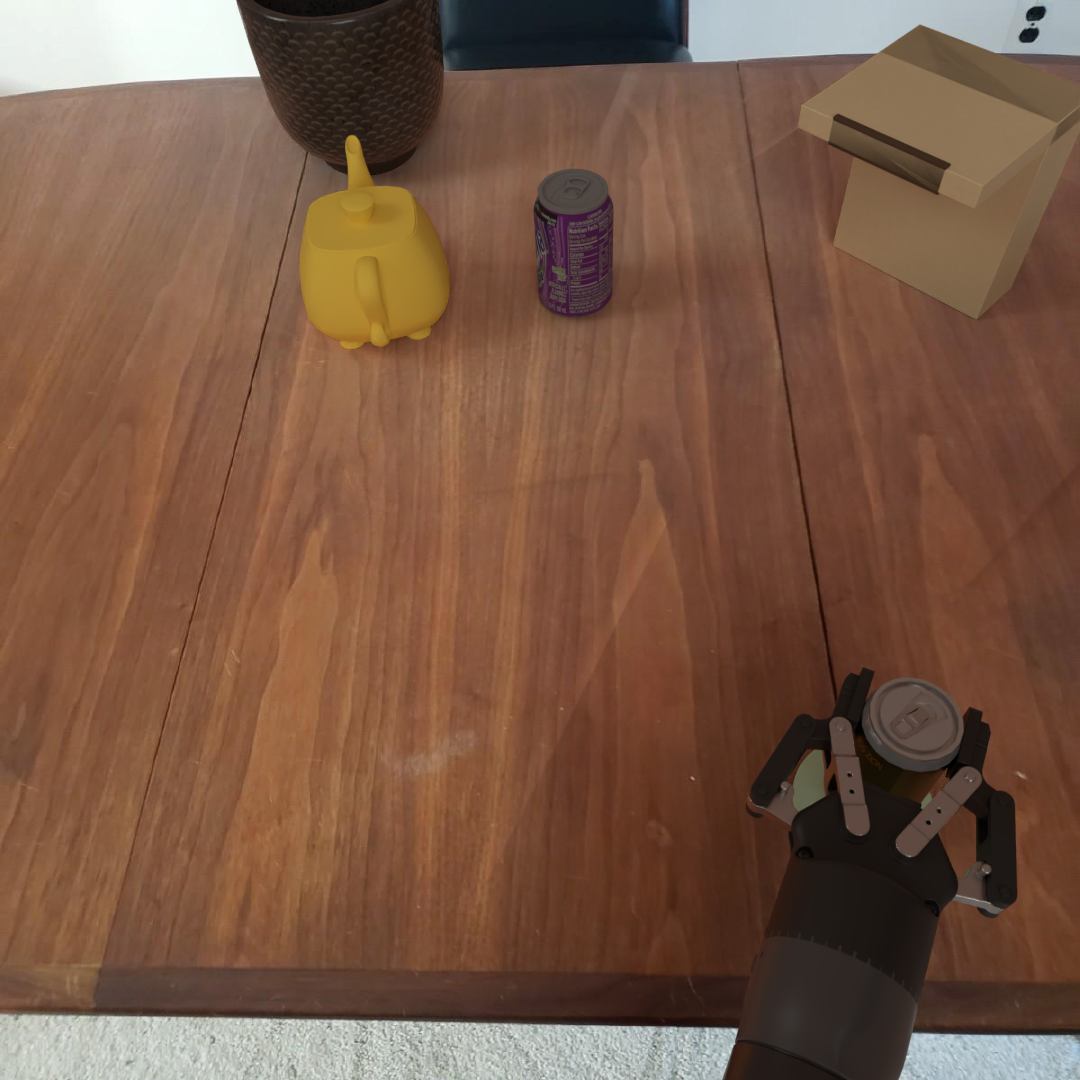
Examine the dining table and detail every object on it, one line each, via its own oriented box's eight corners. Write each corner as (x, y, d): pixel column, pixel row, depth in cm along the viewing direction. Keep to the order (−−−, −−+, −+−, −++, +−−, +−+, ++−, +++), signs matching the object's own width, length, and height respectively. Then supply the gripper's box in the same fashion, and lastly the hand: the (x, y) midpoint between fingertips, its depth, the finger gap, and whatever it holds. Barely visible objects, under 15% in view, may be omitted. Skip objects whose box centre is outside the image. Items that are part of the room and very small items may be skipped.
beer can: (865, 858, 60) (918, 783, 50) (805, 789, 63) (844, 706, 53) (927, 810, 62) (990, 729, 52) (866, 745, 64) (915, 656, 55)
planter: (423, 212, 103) (393, 31, 87) (254, 190, 106) (196, 12, 91) (478, 110, 114) (460, -67, 98) (323, 93, 117) (282, -80, 102)
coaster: (946, 773, 65) (948, 770, 64) (913, 899, 60) (916, 896, 60) (813, 721, 67) (815, 718, 67) (772, 838, 63) (774, 835, 62)
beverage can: (554, 267, 97) (549, 159, 87) (621, 282, 95) (624, 173, 85) (527, 313, 93) (519, 205, 83) (597, 329, 91) (597, 221, 81)
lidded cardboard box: (911, 380, 85) (983, 183, 69) (766, 297, 93) (801, 102, 76) (1033, 268, 93) (1124, 68, 77) (890, 199, 100) (946, 3, 84)
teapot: (314, 386, 88) (277, 274, 78) (310, 249, 100) (277, 135, 90) (463, 364, 89) (446, 250, 79) (442, 230, 101) (424, 116, 90)
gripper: (1017, 1039, 42) (1076, 712, 50) (701, 894, 46) (806, 615, 55) (963, 1066, 48) (1024, 770, 57) (688, 936, 52) (784, 678, 61)
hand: (916, 695), depth 55 cm, fingers closed on beer can, 5 cm apart
